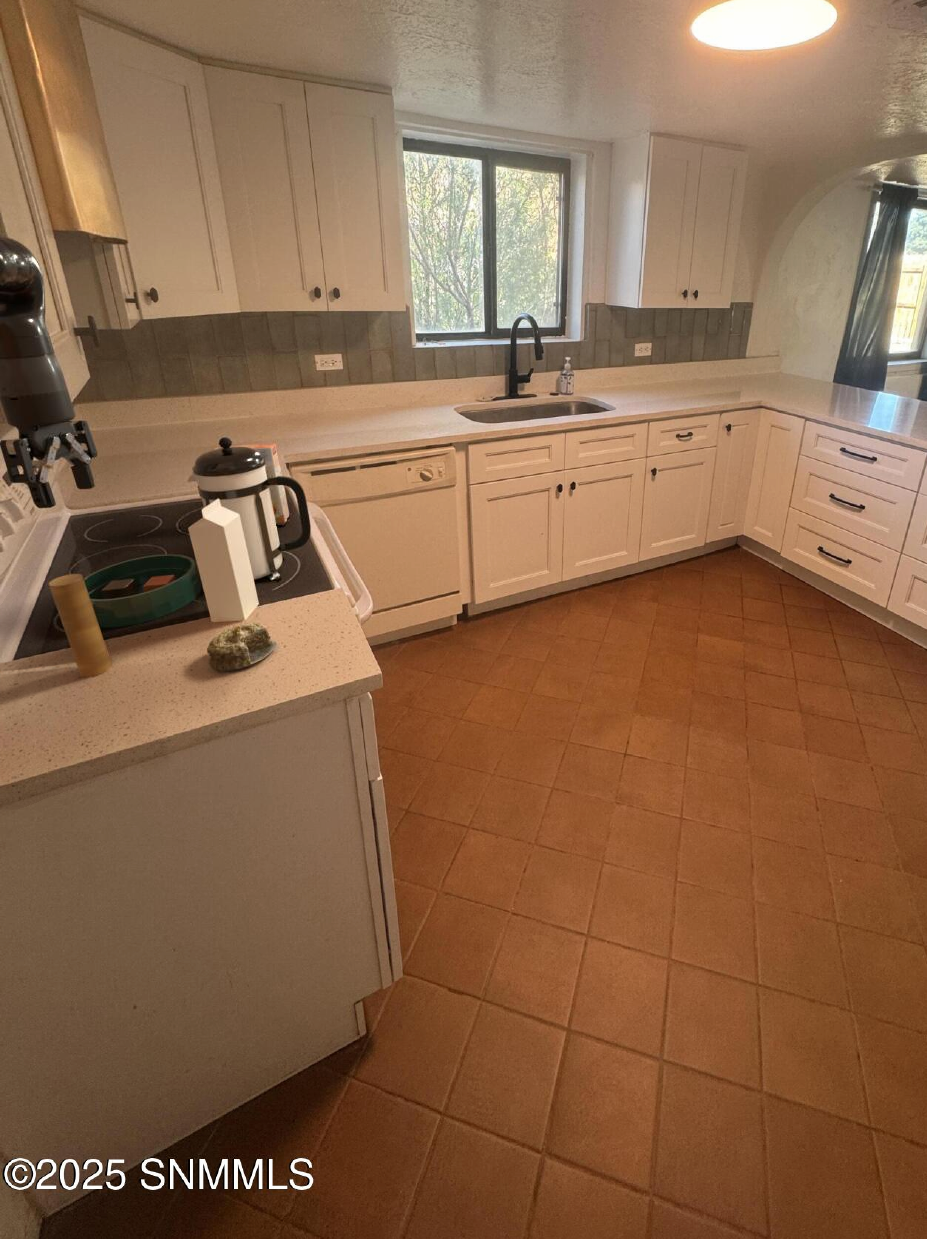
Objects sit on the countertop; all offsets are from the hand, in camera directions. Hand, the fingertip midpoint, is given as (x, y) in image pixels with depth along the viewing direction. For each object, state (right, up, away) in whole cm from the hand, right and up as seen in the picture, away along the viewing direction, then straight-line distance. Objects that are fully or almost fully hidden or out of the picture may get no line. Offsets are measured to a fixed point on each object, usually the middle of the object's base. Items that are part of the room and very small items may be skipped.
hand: (67, 497), depth 87 cm
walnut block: (-10, -20, +24) cm, 33 cm away
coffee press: (+11, -16, +36) cm, 41 cm away
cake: (+22, -26, +8) cm, 35 cm away
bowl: (-6, -20, +25) cm, 33 cm away
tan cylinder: (0, -27, +5) cm, 28 cm away
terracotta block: (-3, -20, +25) cm, 32 cm away
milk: (+14, -22, +20) cm, 33 cm away
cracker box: (-3, -7, +63) cm, 64 cm away
